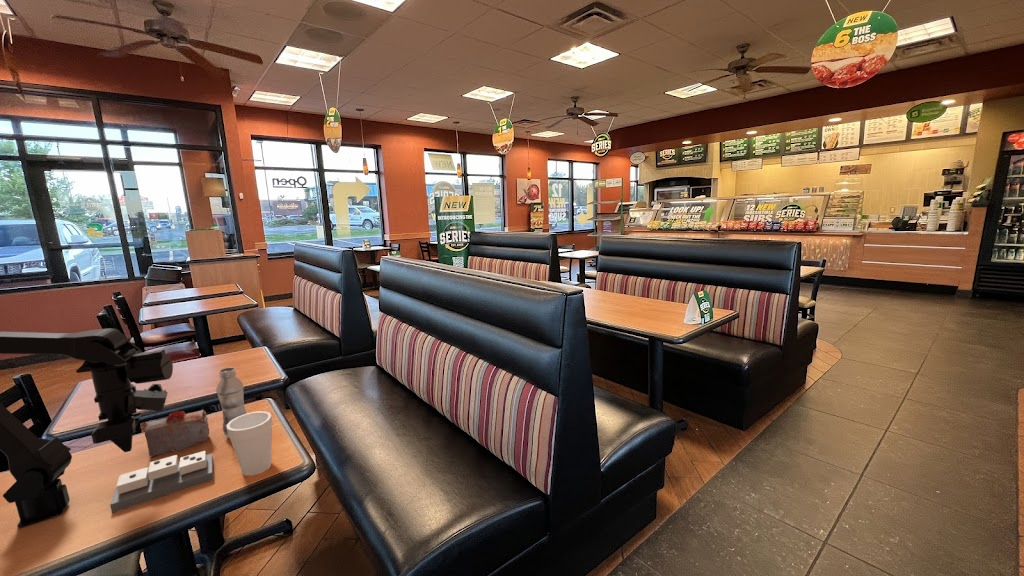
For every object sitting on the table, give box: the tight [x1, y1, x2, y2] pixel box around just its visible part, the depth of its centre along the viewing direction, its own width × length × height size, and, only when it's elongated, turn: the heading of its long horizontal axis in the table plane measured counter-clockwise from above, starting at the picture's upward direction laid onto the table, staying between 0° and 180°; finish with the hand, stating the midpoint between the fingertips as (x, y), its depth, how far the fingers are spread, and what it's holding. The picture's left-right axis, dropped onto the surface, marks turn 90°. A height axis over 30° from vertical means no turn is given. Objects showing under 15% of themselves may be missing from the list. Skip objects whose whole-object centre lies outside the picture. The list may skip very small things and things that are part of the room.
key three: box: [179, 450, 207, 475], centre depth 102 cm, size 5×5×2 cm
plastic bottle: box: [215, 367, 247, 438], centre depth 118 cm, size 6×7×20 cm
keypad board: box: [109, 453, 214, 514], centre depth 99 cm, size 18×10×2 cm, turn 126°
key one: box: [115, 466, 149, 494], centre depth 95 cm, size 5×5×2 cm
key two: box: [148, 454, 179, 481], centre depth 98 cm, size 5×5×2 cm
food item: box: [144, 409, 210, 458], centre depth 115 cm, size 14×8×10 cm, turn 126°
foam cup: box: [226, 410, 274, 477], centre depth 103 cm, size 10×9×13 cm
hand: (128, 450), depth 94 cm, fingers closed
